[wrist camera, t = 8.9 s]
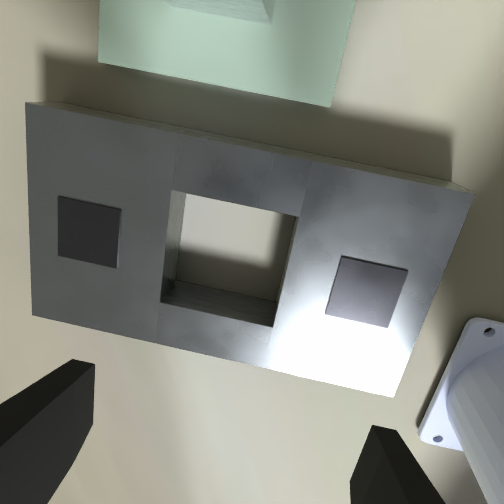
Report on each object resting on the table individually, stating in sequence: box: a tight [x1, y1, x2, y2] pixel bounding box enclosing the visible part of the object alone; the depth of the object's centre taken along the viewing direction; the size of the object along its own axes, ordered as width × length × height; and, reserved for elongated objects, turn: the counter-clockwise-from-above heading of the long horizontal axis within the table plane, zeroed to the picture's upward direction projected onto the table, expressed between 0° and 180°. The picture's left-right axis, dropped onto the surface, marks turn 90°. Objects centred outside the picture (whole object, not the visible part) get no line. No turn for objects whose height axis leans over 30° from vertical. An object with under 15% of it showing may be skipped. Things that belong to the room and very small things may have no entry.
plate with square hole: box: [25, 102, 475, 397], centre depth 18 cm, size 18×10×3 cm, turn 80°
